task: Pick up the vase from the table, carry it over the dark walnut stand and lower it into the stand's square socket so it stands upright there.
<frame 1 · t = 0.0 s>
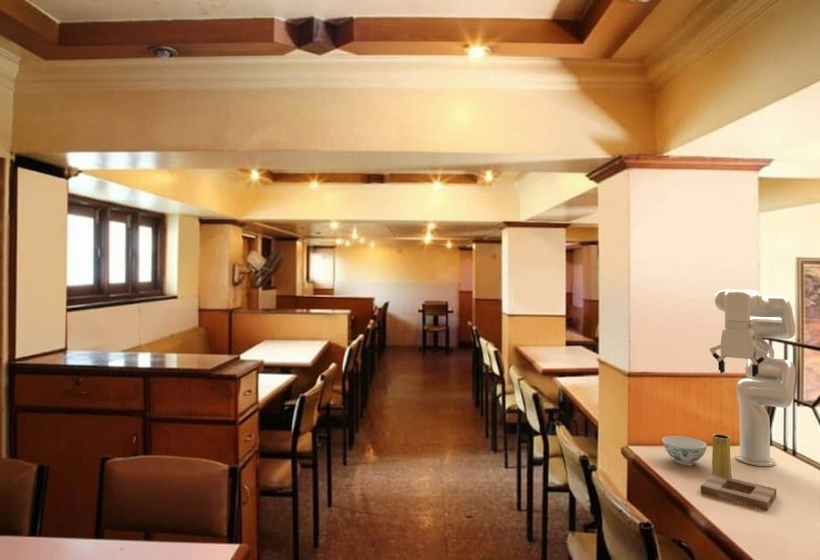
hand: (738, 374, 174), 37 cm above the counter, tool pointing down, fingers open, 9 cm apart
vase: (721, 476, 176), on the counter
vase stand: (738, 494, 160), on the counter
chinaware: (684, 462, 190), on the counter
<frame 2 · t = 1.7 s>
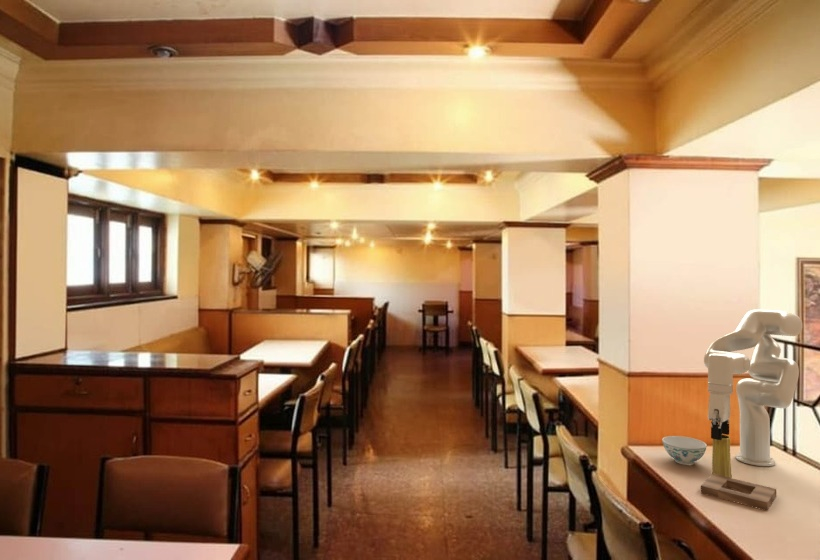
hand: (720, 436, 175), 14 cm above the counter, tool pointing down, fingers open, 9 cm apart
nothing on the counter moved.
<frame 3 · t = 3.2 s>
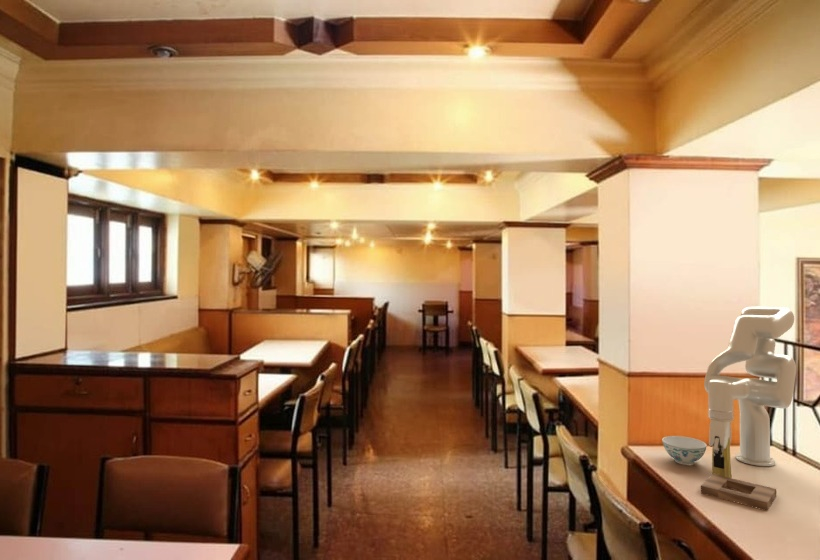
hand: (721, 464, 176), 4 cm above the counter, tool pointing down, fingers closed on vase, 5 cm apart
vase: (721, 476, 176), on the counter, touching gripper
everything else where it was.
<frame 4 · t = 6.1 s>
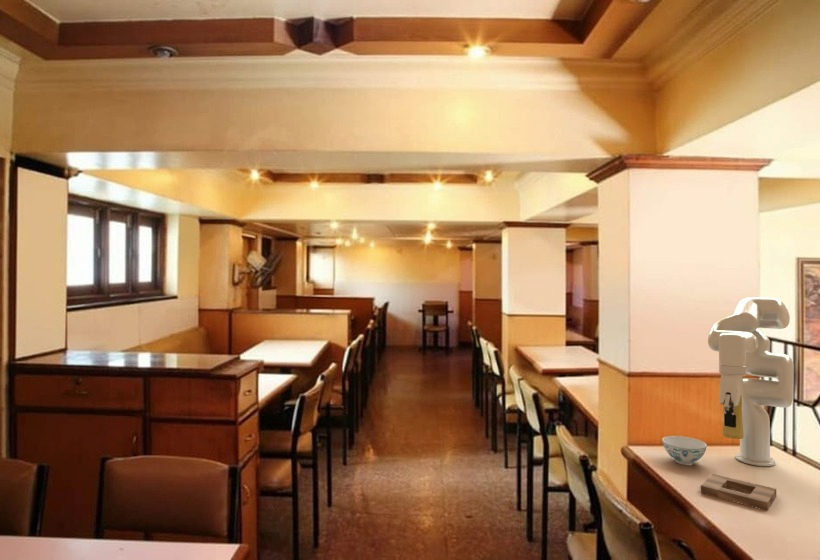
hand: (732, 424, 164), 22 cm above the counter, tool pointing down, fingers closed on vase, 5 cm apart
vase: (732, 437, 164), point 18 cm above the counter, touching gripper
everything else where it was.
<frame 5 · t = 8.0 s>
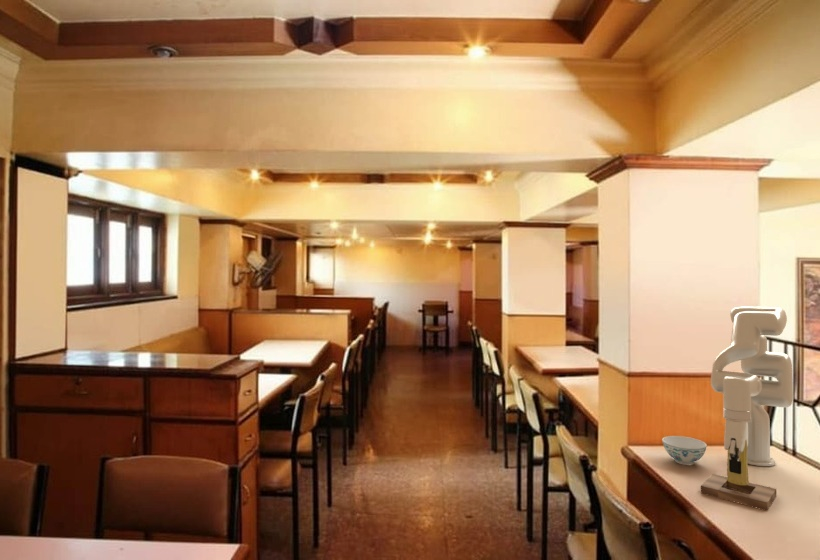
hand: (737, 469, 160), 8 cm above the counter, tool pointing down, fingers closed on vase, 5 cm apart
vase: (737, 482, 160), point 4 cm above the counter, touching gripper
everything else where it was.
when the fingers open (5 cm above the counter, at t = 9.4 s): vase stays where it is, resting in vase stand.
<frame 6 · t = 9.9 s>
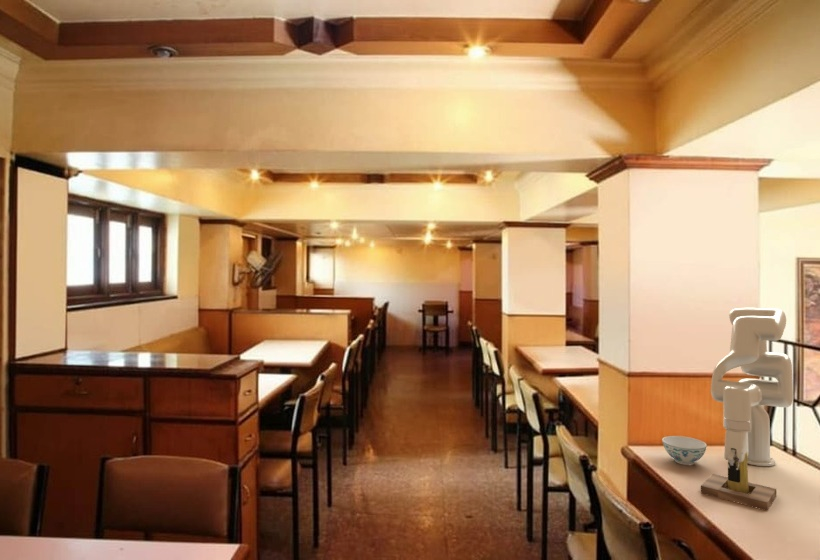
hand: (737, 477, 160), 6 cm above the counter, tool pointing down, fingers open, 9 cm apart
vase: (738, 495, 160), resting in vase stand
everything else where it was.
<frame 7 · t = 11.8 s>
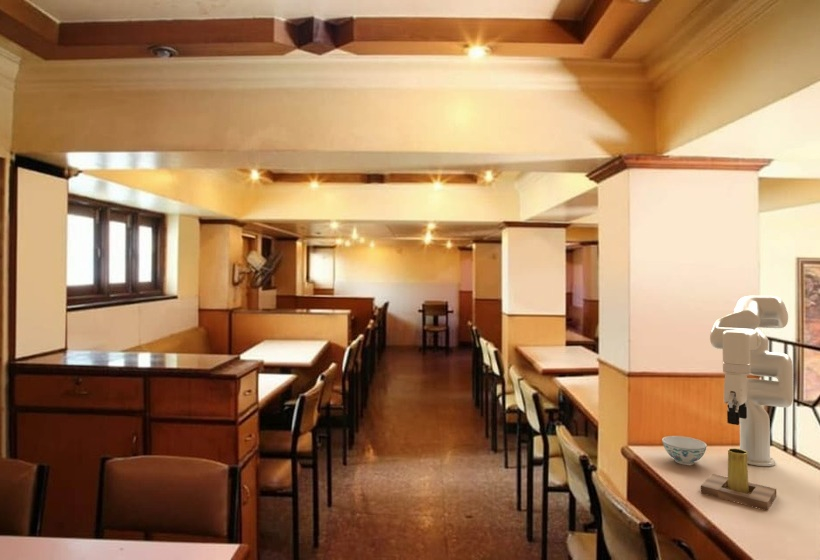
hand: (737, 420, 160), 24 cm above the counter, tool pointing down, fingers open, 9 cm apart
nothing on the counter moved.
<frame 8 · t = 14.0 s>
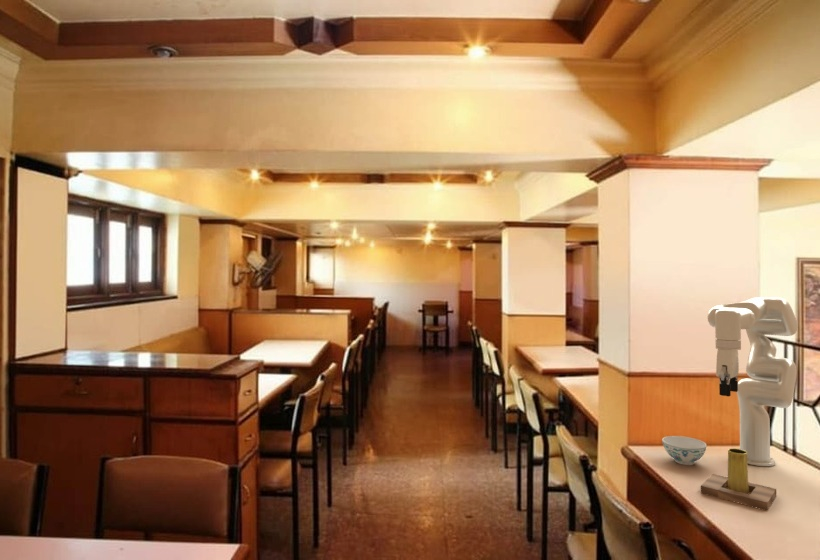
hand: (728, 393, 172), 30 cm above the counter, tool pointing down, fingers open, 9 cm apart
nothing on the counter moved.
at the end: vase 0.1 cm off-centre on the vase stand, point 0.0 cm above the vase stand's base; vase tilted 0°; the gripper is holding nothing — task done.
